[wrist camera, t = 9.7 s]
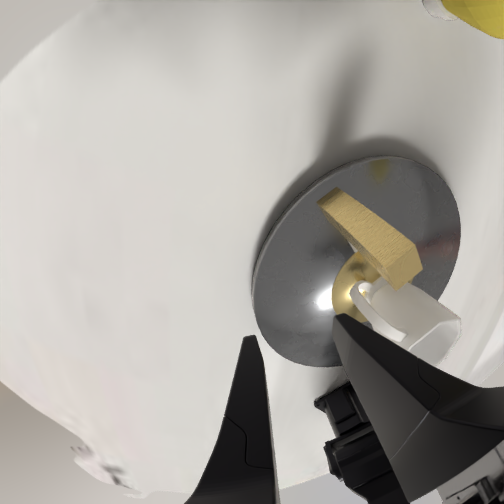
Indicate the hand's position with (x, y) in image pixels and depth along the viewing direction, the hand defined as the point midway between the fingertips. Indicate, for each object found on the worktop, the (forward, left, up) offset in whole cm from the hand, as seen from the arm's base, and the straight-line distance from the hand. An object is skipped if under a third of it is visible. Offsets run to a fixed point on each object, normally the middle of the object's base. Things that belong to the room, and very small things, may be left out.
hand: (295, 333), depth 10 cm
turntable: (-12, -5, -12) cm, 18 cm away
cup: (-13, -5, -11) cm, 17 cm away
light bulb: (+6, -24, -12) cm, 28 cm away
